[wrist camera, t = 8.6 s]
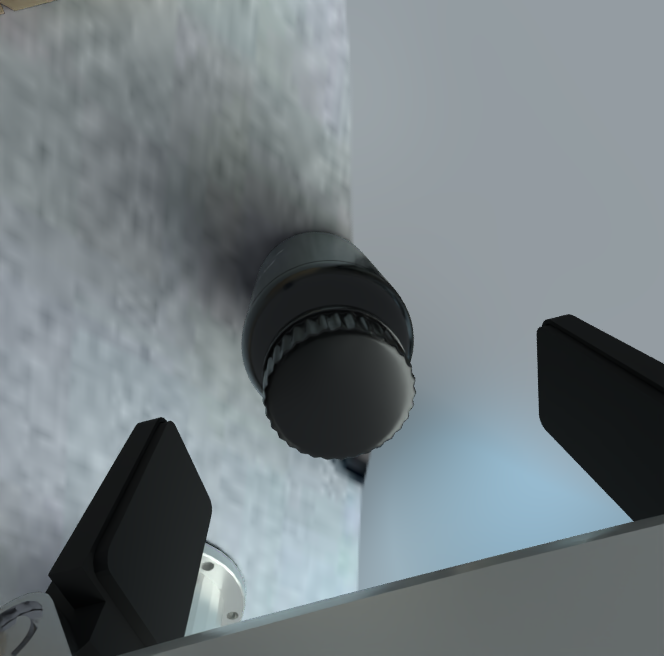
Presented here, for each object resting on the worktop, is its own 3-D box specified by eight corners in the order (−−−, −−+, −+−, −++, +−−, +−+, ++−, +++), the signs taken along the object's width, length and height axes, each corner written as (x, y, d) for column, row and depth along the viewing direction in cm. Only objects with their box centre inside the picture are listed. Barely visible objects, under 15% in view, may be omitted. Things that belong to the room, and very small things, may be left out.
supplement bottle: (242, 242, 22) (199, 311, 11) (364, 220, 22) (445, 264, 11) (269, 354, 24) (257, 504, 13) (379, 333, 25) (456, 462, 14)
